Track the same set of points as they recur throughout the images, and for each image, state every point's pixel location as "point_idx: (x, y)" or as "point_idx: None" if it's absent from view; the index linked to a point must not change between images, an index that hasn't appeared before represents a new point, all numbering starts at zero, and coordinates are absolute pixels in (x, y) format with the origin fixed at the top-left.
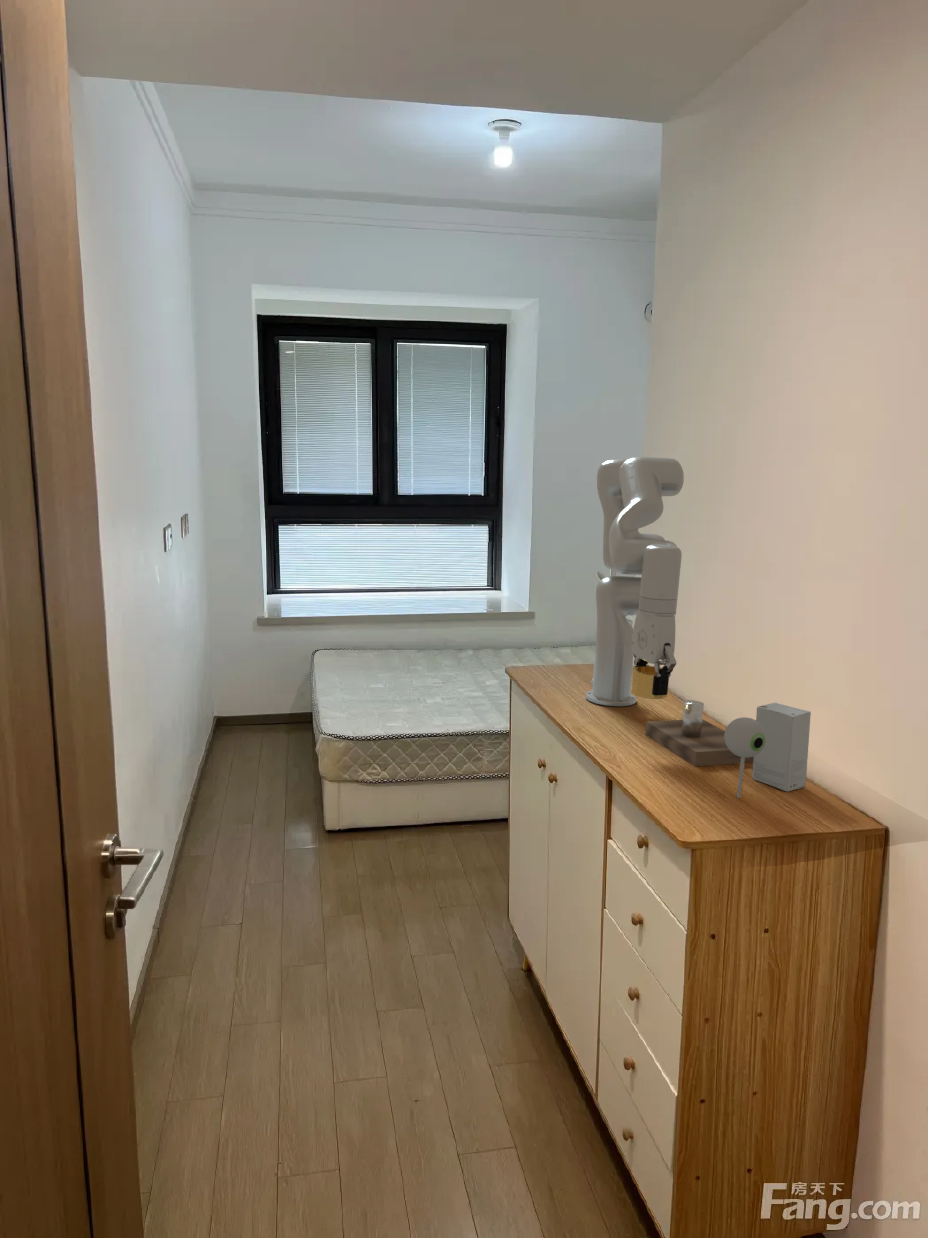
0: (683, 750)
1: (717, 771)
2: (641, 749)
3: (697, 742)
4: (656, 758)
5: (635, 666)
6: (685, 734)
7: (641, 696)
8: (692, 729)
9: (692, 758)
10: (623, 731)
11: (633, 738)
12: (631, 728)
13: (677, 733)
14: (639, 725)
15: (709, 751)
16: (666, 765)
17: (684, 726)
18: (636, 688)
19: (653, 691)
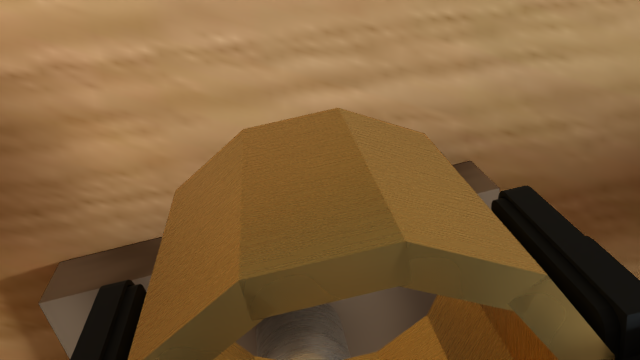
0: (151, 259)
1: (19, 328)
2: (267, 88)
3: None
4: (141, 127)
5: (631, 307)
6: None
7: (195, 173)
8: (259, 355)
9: (74, 272)
10: (530, 70)
11: (427, 92)
12: (564, 120)
13: None
14: (595, 166)
15: (68, 355)
16: (45, 148)
17: (287, 332)
18: (249, 158)
19: (97, 305)
